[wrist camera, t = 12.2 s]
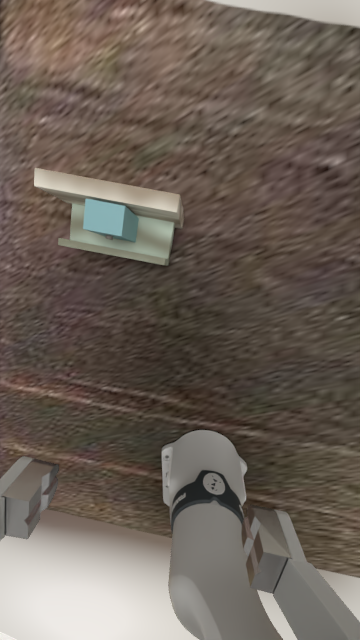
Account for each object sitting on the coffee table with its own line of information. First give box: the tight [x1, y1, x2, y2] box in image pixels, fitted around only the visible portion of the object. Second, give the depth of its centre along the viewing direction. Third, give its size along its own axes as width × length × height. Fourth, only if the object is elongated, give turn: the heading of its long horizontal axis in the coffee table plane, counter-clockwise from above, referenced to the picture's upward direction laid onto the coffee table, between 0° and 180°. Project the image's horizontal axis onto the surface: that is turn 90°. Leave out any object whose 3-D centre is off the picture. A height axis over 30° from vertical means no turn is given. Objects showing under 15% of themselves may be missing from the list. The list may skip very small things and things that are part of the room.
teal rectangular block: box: [83, 199, 139, 243], centre depth 31 cm, size 4×5×7 cm
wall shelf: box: [34, 168, 184, 266], centre depth 34 cm, size 8×18×12 cm, turn 79°
